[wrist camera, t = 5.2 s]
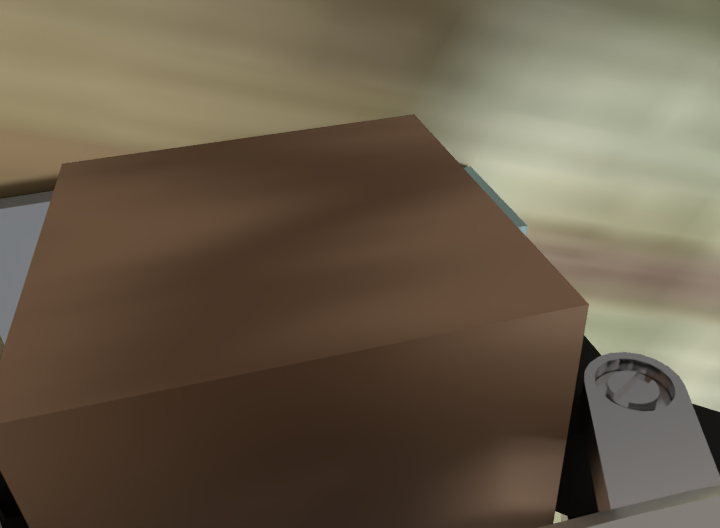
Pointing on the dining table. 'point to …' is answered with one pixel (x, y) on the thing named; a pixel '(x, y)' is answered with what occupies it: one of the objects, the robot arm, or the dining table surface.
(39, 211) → the grey flat slab
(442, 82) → the dining table surface
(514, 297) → the walnut block
